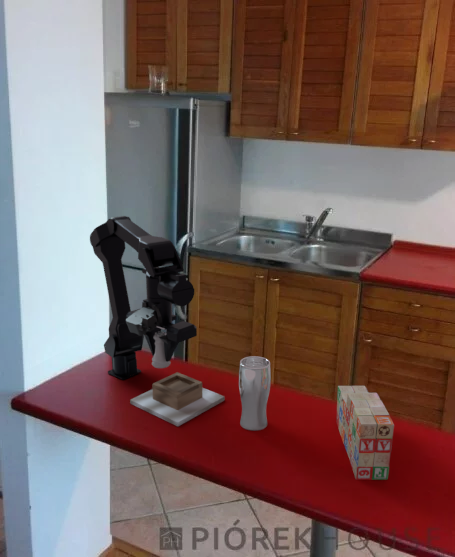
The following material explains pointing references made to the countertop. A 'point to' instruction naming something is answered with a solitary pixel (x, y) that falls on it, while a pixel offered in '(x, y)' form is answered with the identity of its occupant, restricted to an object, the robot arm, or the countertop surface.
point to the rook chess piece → (159, 352)
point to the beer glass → (254, 391)
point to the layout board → (182, 412)
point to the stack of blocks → (365, 432)
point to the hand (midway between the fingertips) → (161, 358)
